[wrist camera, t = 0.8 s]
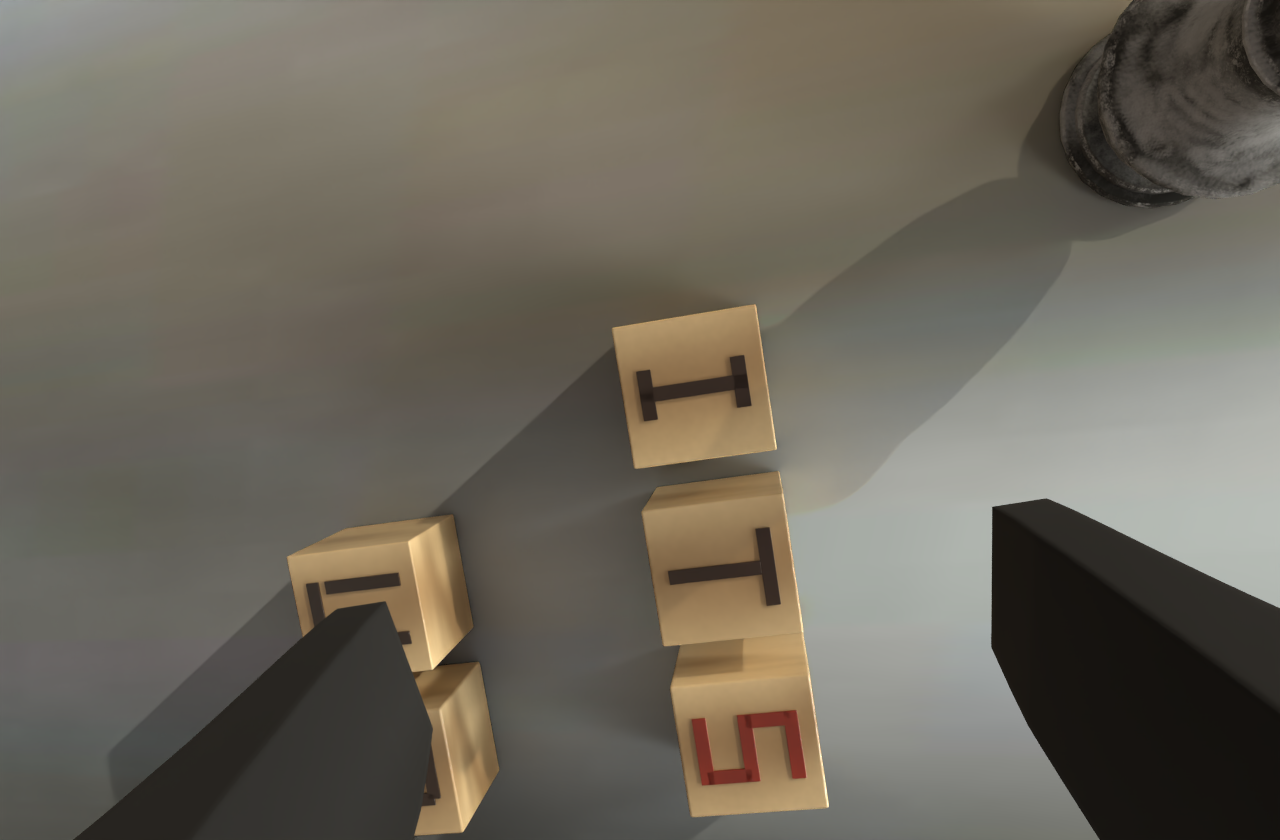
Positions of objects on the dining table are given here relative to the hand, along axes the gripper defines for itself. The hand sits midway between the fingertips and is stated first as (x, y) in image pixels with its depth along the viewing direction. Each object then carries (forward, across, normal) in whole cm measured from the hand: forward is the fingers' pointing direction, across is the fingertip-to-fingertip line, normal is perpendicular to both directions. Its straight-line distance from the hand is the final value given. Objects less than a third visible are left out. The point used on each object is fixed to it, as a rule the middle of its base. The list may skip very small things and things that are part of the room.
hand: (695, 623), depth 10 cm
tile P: (+14, +10, +14) cm, 22 cm away
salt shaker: (+17, -15, -2) cm, 23 cm away
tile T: (+14, -1, +8) cm, 17 cm away
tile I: (+16, -1, +3) cm, 16 cm away
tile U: (+16, +10, +9) cm, 20 cm away
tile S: (+13, -1, +13) cm, 18 cm away
